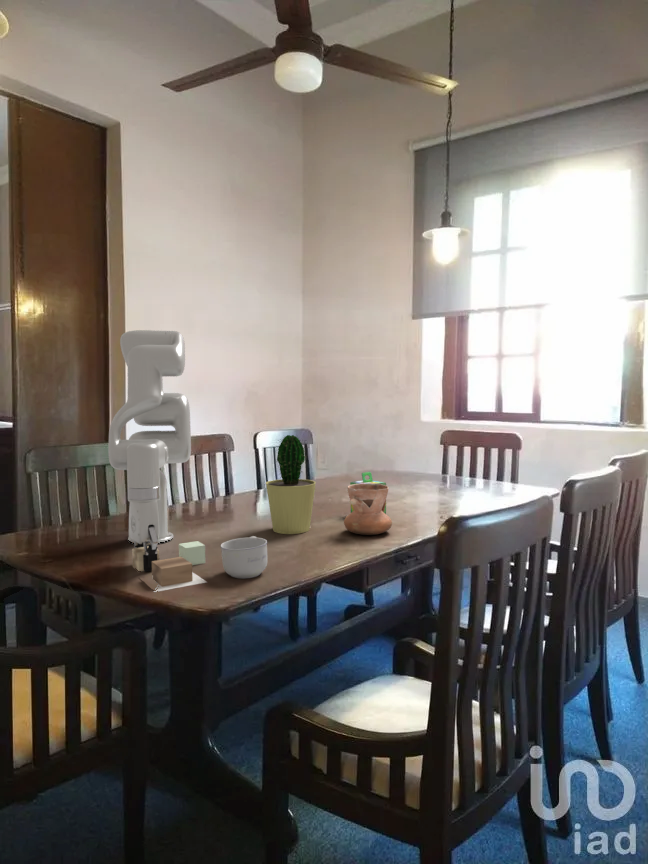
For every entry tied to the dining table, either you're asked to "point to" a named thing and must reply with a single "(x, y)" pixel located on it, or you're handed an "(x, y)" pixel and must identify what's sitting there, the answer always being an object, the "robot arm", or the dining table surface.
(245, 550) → the teacup
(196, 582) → the white mat
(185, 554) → the sage block
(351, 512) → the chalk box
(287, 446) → the potted cactus
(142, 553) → the maple block
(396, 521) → the dining table surface
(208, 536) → the dining table surface
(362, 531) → the ceramic jug
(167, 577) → the walnut base brick
